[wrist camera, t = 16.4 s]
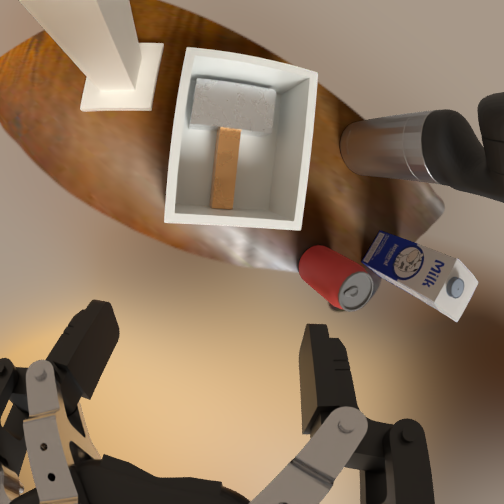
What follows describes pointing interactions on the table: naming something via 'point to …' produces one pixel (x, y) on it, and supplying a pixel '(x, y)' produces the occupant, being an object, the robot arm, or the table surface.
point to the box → (244, 146)
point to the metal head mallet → (230, 127)
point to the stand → (103, 50)
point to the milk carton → (422, 273)
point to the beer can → (336, 278)
